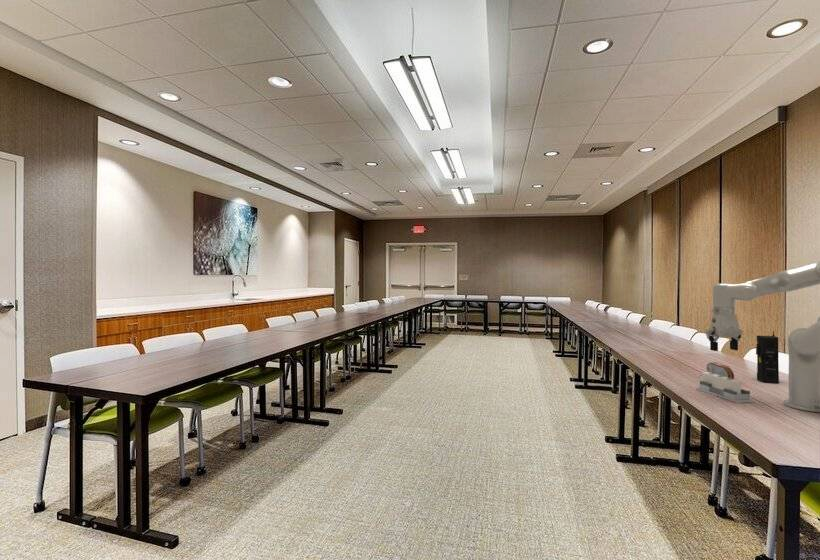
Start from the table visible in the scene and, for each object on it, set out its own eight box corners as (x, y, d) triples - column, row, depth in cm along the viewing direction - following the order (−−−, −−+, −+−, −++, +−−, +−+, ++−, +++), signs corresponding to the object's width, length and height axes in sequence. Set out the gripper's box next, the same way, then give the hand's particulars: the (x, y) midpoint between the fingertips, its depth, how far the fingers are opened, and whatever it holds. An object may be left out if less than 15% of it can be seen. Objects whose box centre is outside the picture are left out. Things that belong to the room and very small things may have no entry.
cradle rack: (754, 402, 163) (754, 392, 163) (736, 403, 162) (736, 393, 162) (711, 388, 183) (711, 379, 183) (696, 389, 182) (696, 380, 182)
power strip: (740, 393, 166) (741, 380, 166) (733, 393, 165) (733, 381, 165) (708, 382, 182) (708, 371, 182) (701, 383, 181) (701, 371, 181)
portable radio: (760, 382, 192) (760, 332, 192) (753, 379, 198) (753, 330, 198) (780, 383, 190) (780, 332, 190) (772, 380, 196) (772, 330, 195)
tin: (734, 384, 189) (734, 367, 189) (728, 384, 189) (728, 367, 189) (711, 376, 204) (711, 360, 204) (705, 376, 204) (705, 360, 204)
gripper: (713, 312, 167) (713, 352, 167) (749, 311, 169) (749, 351, 169) (698, 311, 175) (699, 349, 175) (733, 310, 177) (733, 348, 177)
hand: (724, 350), depth 172 cm, fingers open, 9 cm apart
